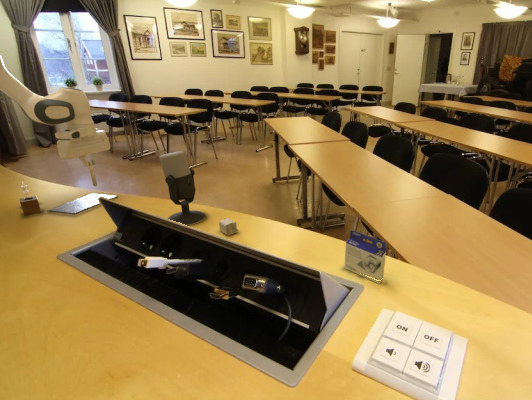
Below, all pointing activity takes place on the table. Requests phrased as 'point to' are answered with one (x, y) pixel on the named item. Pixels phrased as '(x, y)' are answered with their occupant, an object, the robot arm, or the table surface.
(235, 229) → the usb wall charger
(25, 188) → the chess piece
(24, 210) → the holder
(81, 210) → the tablet
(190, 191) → the microphone
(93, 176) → the stylus
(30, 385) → the table surface
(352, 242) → the ink box
